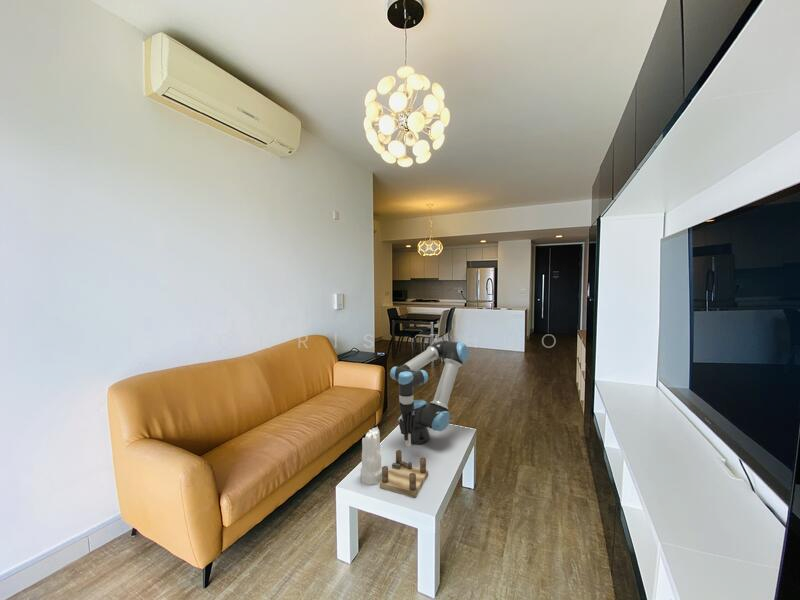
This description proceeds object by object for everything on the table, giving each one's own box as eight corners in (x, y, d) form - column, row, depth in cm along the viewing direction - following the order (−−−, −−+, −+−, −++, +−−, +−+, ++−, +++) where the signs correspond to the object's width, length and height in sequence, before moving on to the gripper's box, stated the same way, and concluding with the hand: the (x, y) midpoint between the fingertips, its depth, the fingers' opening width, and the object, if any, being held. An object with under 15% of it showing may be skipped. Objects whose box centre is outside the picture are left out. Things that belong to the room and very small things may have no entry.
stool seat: (395, 466, 165) (395, 450, 164) (428, 474, 157) (428, 457, 157) (379, 487, 148) (379, 469, 148) (415, 497, 141) (415, 478, 140)
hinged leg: (394, 463, 163) (394, 452, 162) (398, 460, 165) (397, 449, 165) (410, 469, 157) (409, 457, 157) (413, 466, 160) (413, 455, 159)
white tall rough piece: (362, 486, 149) (361, 435, 148) (359, 473, 159) (358, 425, 158) (384, 482, 152) (383, 432, 150) (380, 469, 162) (379, 422, 161)
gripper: (409, 396, 172) (411, 437, 174) (392, 404, 163) (394, 447, 165) (420, 399, 167) (421, 442, 169) (403, 407, 157) (404, 453, 159)
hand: (408, 445), depth 167 cm, fingers closed
